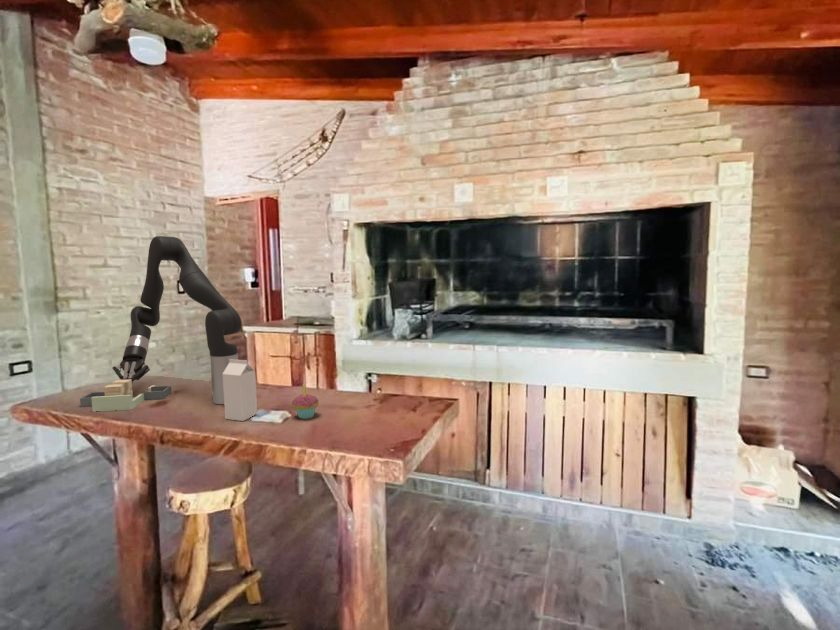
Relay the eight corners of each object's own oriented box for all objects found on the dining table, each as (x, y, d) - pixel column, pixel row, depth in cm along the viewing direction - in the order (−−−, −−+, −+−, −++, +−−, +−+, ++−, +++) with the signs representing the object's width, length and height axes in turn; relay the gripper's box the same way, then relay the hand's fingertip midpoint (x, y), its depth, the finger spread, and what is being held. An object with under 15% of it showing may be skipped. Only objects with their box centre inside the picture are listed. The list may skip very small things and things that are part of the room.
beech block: (118, 401, 182) (116, 380, 181) (133, 400, 183) (131, 379, 182) (106, 409, 172) (103, 387, 171) (121, 408, 173) (119, 386, 172)
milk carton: (243, 421, 158) (239, 362, 156) (225, 419, 161) (221, 361, 158) (257, 414, 165) (254, 358, 162) (240, 412, 167) (236, 357, 165)
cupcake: (318, 419, 159) (317, 383, 157) (291, 421, 158) (289, 384, 156) (319, 411, 167) (318, 376, 166) (293, 413, 166) (291, 377, 164)
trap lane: (101, 394, 192) (100, 381, 191) (174, 390, 196) (174, 378, 195) (70, 413, 169) (68, 398, 168) (153, 408, 173) (152, 394, 172)
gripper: (114, 345, 189) (102, 385, 178) (151, 343, 191) (142, 383, 180) (121, 355, 195) (110, 395, 184) (157, 354, 197) (148, 393, 186)
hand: (126, 389), depth 182 cm, fingers closed
